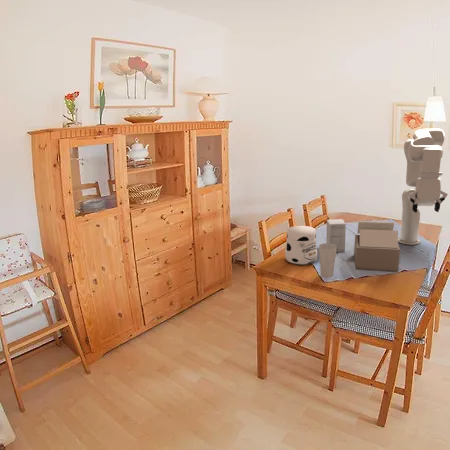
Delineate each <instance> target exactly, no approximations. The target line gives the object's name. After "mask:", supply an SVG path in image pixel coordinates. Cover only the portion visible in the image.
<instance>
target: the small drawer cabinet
mask: <svg viewBox="0 0 450 450" xmlns="http://www.w3.org/2000/svg"><path fill="white" fill-rule="evenodd" d="M346 225H347V224H346V222H345V220H344V219H343V218H339V219H338V218H336V219H326V243H331V244H334V245H336V246H337V250H336V253H337V252H338V253H339V252H340V253H341V252H343V253H344V252H346V229H347V228H346Z"/></svg>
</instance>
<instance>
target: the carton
mask: <svg viewBox="0 0 450 450" xmlns="http://www.w3.org/2000/svg"><path fill="white" fill-rule="evenodd" d="M353 247H354V248H353V250H354V251H353V259H354V267H355V270H357V271H373V272H374V271H376V272H387V273H389V272H390V273H391V272H392V273H398V272H399V268H400V267H399V265H400V258H401V257H400V253H401V249H400V246H399V245H398V248H384V247H361V246H360V234H354V246H353Z"/></svg>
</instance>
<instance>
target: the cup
mask: <svg viewBox="0 0 450 450" xmlns="http://www.w3.org/2000/svg"><path fill="white" fill-rule="evenodd" d="M318 250H319V251H318V252H319V253H318V254H319V269H320V276H321V277H323V278H329V279H330V278H333V276H334V272H335V263H336V256H337V252H336V250H337V246H336V245H334V244H331V243H327V242H324V243H320V244H319V245H318Z"/></svg>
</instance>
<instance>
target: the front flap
mask: <svg viewBox="0 0 450 450" xmlns="http://www.w3.org/2000/svg"><path fill="white" fill-rule="evenodd" d="M359 235H360V246H361V247H384V248H398V246H399V242H398V237H399V230H393V231H392V230H361V229H360V234H359Z"/></svg>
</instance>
